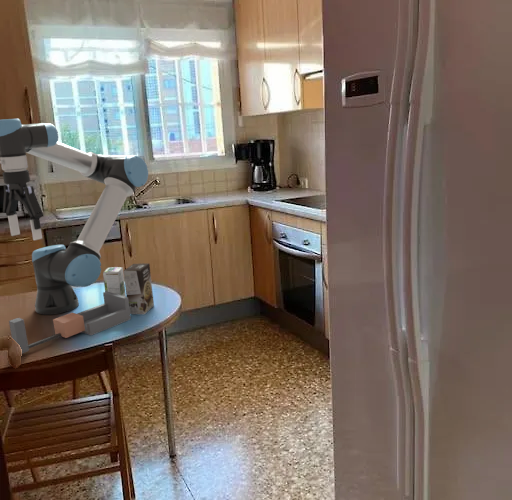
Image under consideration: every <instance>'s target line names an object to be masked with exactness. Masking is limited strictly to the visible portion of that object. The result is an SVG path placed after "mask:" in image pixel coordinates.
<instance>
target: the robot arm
mask: <svg viewBox="0 0 512 500" xmlns="http://www.w3.org/2000/svg"><path fill="white" fill-rule="evenodd" d="M58 133H59V132H58V130H57V128H56V126H55V125H54V124H52V123H49V122H48V123H46V122H41V123H27V124H22V122H21V119H20V118H8V119H6V118H5V119H0V165H1V170H2V171H3V172H2V178H3V184H5V185H3V192H4V193H3V204H2V205H3V206H2V213H3V214H6V216H7V219H8V224H9V225H8V226H9V230H10V236H12V237H14V236H18V235H19V236H20V235H21V230H20V225H19V224H20V223H19V220H18V215H17V214H18V213H17V207H18V203H19V202H20V203H22V204H23V205H22V206H24V209H25V210H26V212H27V214H28V215H29V223H30V228H31V233H32V240H33V241H38V240H43V233H42V228H41V221H40V219H41V217H44V213H43V211H42V208H41V206H40V204H39V201H38V198H37V196H36V193H35V189H34V186H33V185H30V186H28V185H27V183H29V182H30V181H31V178H30V177H31V176H30V171H29V170H28V168H29V166H28V165H29V163H28V158H27V154H29V155H31V156H34V157H38V158H40V159H43V160H46V161H48V162H51V163H54V164H57V165H60V166H62V167H65V168H68V169H70V170H74V171H76V172H79V173H80V175H81V176H82V177H85V178H88V179H91V180H93V181H96V182H98V183H101V184H103V185H105V187H104V189H103V190H102V193H101V194H100V197H99V198H98V200H97V202H96V204H95V205H94V208H93V209H92V211H91V213H90V215H89V216H88V219H87V220H86V222H85V224H84V226H83V228H82V230H81V232H80V234H79V236H78V237H77V238H76V240H74V241H70V243H69V244H68V247H67V248H66V245H64V244H53V245H49V246H45V247H40V248H38V249H35V250H33V251H32V253H31V262H32V266H33V271H34V277H35V278H34V279H35V283H36V290H37V291H36V298H35V303H34V308H35V312H36V313H37V314H40V315H46V316H47V315H48V316H49V315H57V314H58V315H59V314H64V313H67V312H69V311H72V310H74V309H76V308H77V307H78V306H79V304H80V303H79V299H78V296H77V294H76V292H75V290H74V289H73V287H75V288H87V287H89V286H91V285H93V284H94V283H96V282H97V280H98V279H99V278H100V275H101V272H102V267H101V266H102V263H101V259H102V256H101V252H100V250H101V249H102V247H103V245H104V243H105V241H106V239H107V237H108V235H109V233H110V231H111V229H112V227H113V225H114V223H115V221H116V219H117V218H118V215H119V213H120V211H121V210H122V208H123V205H124V203H125V202H126V200H127V198H129V197H131V196H133V195H134V193H135V191H136V189H137V188H139V187H140V188H141V187H142V186H145V184H146V183H147V182H148V179H149V169H148V165H147V162H146V161H145V160H144V158H142V157H141V156H139V155H137V154H135V155H134V154H127V155H126V154H122V155H121V154H99V153H98V154H97V153H95V152H92V151H88V152H85V151H83V150H80V149H77V148H75V147H73V146H69V145H68V144H65V143H62V142H60V141H59V134H58Z"/></svg>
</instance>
